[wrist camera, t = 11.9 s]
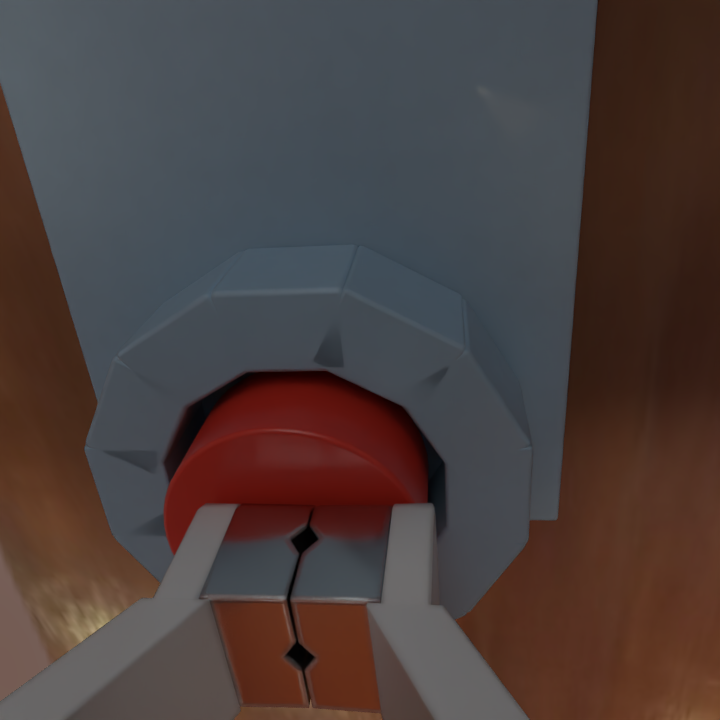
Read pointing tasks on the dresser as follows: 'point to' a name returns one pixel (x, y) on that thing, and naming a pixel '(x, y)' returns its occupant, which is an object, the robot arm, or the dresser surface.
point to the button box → (317, 230)
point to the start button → (298, 449)
